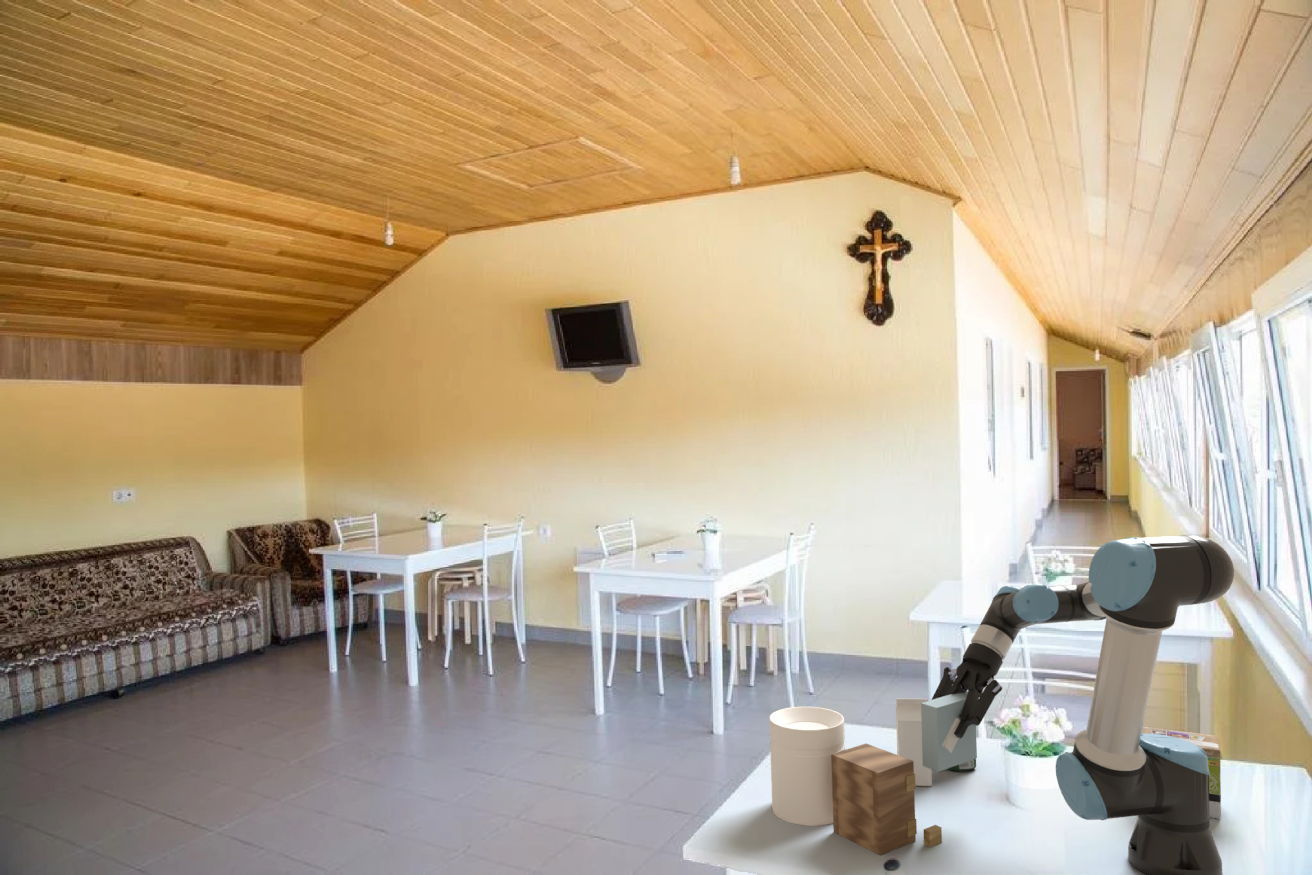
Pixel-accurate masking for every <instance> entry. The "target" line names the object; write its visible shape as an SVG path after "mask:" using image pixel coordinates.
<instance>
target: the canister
mask: <svg viewBox="0 0 1312 875" xmlns="http://www.w3.org/2000/svg"><path fill="white" fill-rule="evenodd" d="M845 729H846V728H845V718H844V716H843V715H842V714H841V713H840V712H838V711H835V710H833V709H830V708H825V707H818V706H793V707H791V706H790V707H785V708H781V709H778V710H775V711H773V712H772V713H771V714H770V715H769V736H770V741H769V742H770V773H771V774H770V775H771V776H770V777H771V778H770V779H771V807H772V808H771V809H772V813H773V814H774V815H775V816H776V817H777V818H779V819H780V820H782V821H784V822H787V823H790V824H792V825H793V824H794V825H800V826H806V827H807V826H809V827H810V826H812V827H813V826H815V827H816V826H818V827H819V826H826V825H833V796H832V763H831V754H833V753H837V752H840V751H843V750H846V744H845V740H846V739H845V737H846V734H845V732H846V731H845Z"/></svg>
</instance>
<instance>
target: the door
mask: <svg viewBox="0 0 1312 875" xmlns="http://www.w3.org/2000/svg"><path fill="white" fill-rule="evenodd" d="M966 697H967V694H966V693H962V692H961V693H956V694H950V695H947V696H943V697H940V698H937V699H933V700H931V699H930V700H928V701H926V702H923V703H921V719H922V756H923V766H924V767H927V768H930V769H931V771H932V770H933V771H935V772H938V773H939V772H941V771H944V770H949V769H948V768H951V767H953V766H956V765H959V764H962V763H964V762H967V761H970V760H973V759H975V758H976V759H977V758H978V754H977V753H978V752H977V751H978V750H977V748H978V747H977V726H976V725H975V724H973V725H970V726H968V728H967V730H966V732H965V734H964V736H963V737H962V738H959V739H958V741H957V743H956V745H955V747H954V749H953V751H952V753H949V752H948V751H947V750H946V749H945V748H944V747H943V746H942V744H943V742H944V740H945V738H946V736H947V734H948V732H949V730H950V728H951V726H952V725H953V723H954V721H955V719H956V718H959V719H960V720H961V718H960V717H959V715H961V714H962V710H963V707H964V704H965V701H966Z"/></svg>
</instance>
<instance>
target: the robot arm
mask: <svg viewBox="0 0 1312 875" xmlns="http://www.w3.org/2000/svg"><path fill="white" fill-rule="evenodd" d="M1234 577H1235V568H1234V564H1233V561H1232V558H1231V557H1230V555H1229V554H1228V552H1227V551H1226V550H1225V549H1224V548H1223V547H1222V546H1221V545H1219V543H1217V542H1215V541H1213V540H1212V539H1209V538H1206V537H1204V536H1201V535H1193V534H1182V535H1171V536H1152V537H1151V536H1150V537H1137V536H1135V537H1134V536H1131V537H1125V538H1121V539H1115V540H1110V541H1108V542H1106V543H1104V544H1102V545H1101V546H1100V547H1099V548H1097V550H1096V552H1095V553H1094V555H1093V556H1092V559H1091V561H1090V565H1089V567H1088V581H1087V582H1083V583H1078V584H1069V585H1068V584H1067V585H1051V586H1050V585H1048V586H1047V585H1046V584H1044V583H1043V584H1042V583H1033V584H1027V585H1025V586H1023V587H1020V588H1018V587H1016V586H1012V585H1011V586H1008V585H1004V586H1002V587H1000V589H999V590H998V591H997V593H996V594H995V595H994V596H993V598H992V600H991V603H990V605H989V607H988V609H987V611H986V613H985V615H984V617H983V618H982V620H981V623H980V624H979V626H978V628H977V629H976V631H975V633H974V635H973V637H972V638H971V640H970V643H969V644H968V646H967V647H966V649H965V652H964V654H963V655H962V661H961V663H960V664H959V665H958V666H957V667H956V668H952V669H951V668H950V667H947V666H946V667H945V668H944V669H943V675H942V678H941V679H940V682H939V684H938V686H937V688H936V690H935V692H934V693H933V696H932V698H931V699H930V700H933V699H937V698H940V697H943V696H947V695H950V694H956V693H961V692H962V693H966V691H967V692H968V694H967V697H966V701H965V704H964V707H963V710H962V714H961V715H959V717H960V718H961V720H960V719H959V718H956V719H955V721H954V723H953V725H952V726H951V728H950V730H949V732H948V734H947V736H946V738H945V740H944V742H943V744H942V746H943V747H944V748H945V749H946V750H947V751H948V752H949V753H952V751H953V749H954V747H955V745H956V743H957V741H958V739H959V738H962V737H963V736H964V734H965V732H966V730H967V728H968V726H970V725H973V724H975V725H976V727H977V726H978V727H979V726H980V724H981V723H982V721H983V719H984V717H985V715H986V714H987V712H988V710H989V709H990V706H991V705H992V703H993V701H994V700H995V698H996V697H997V695H998V694H999V693H1000V692H1002V690H1003V687H1002V685H1001V684H1000V683H999V682H998V681H997V680H996V679H995V677H996V676H997V675H998V672H999V671H1000V669H1001V667H1002V665H1003V662H1004V661H1003V660H1005V658H1006V657H1007V655H1008V653H1009V652H1010V649H1011V647H1012V645H1013V644H1014V642H1015V640H1016V639H1017V636H1018V635H1019V633H1020V631H1021V630H1022V629H1024V628H1028V627H1030V626H1034V625H1041V624H1045V625H1046V624H1056V623H1068V622H1083V621H1085V622H1086V621H1103V620H1105V626H1104V632H1103V637H1102V642H1101V648H1100V652H1099V659H1098V664H1097V670H1096V675H1095V680H1094V686H1093V691H1092V697H1091V701H1090V702H1091V703H1090V709H1089V713H1088V719H1087V724H1086V729H1085V730H1082V731H1080V732H1078V733H1077V734H1076V736H1075V739H1074V744H1073V749H1072V751H1071V752H1069V751H1065V752H1063V753H1061V754H1059V755H1058V757H1057V759H1056V761H1055V777H1056V780H1057V785H1058V788H1059V790H1060V792H1061V795H1062V797H1063V799H1064V801H1065V803H1066V804H1067V806H1068V807H1069V809H1070V810H1071V811H1072V812H1073V813H1074V814H1075V815H1076V816H1077V817H1080V819H1081V818H1082V819H1083V820H1086V821H1096V820H1099V821H1105V820H1109V819H1110V820H1112V819H1121V818H1129V817H1137V819H1136V823H1135V825H1134V828H1133V831H1132V833H1131V837H1130V839H1129V841H1128V844H1127V845H1128V846H1127V857H1128V861H1129V862H1130V863H1131V865H1132V866H1133V867H1134V868H1136V869H1137V870H1138V871H1140V872H1141V873H1144V874H1146V875H1223V861H1222V858H1221V856H1220V853H1219V850H1218V846H1217V845H1216V841H1215V839H1214V836H1213V834H1212V831H1211V824H1210V821H1211V820H1210V819H1211V818H1210V812H1209V775H1210V772H1209V768H1208V758H1207V755H1206V753H1205V751H1204V750H1203V749H1202V748H1200V747H1199V746H1197V745H1195V744H1193V743H1191V742H1188V741H1185V740H1182V739H1179V738H1175V737H1171V736H1166V735H1160V734H1148V733H1146V734H1141V733H1142V728H1143V726H1144V721H1145V718H1146V713H1147V708H1148V703H1149V698H1150V694H1151V687H1152V683H1153V677H1154V673H1155V669H1156V668H1155V667H1156V664H1157V663H1156V662H1157V658H1158V653H1159V648H1160V644H1161V639H1162V634H1163V631H1166V630H1169V629H1170V628H1172V627H1173V626H1174V625H1175V623H1176V622H1175V621H1176V617H1177V612H1178V608H1179V607H1181V606H1191V605H1193V606H1195V605H1200V604H1201V605H1202V604H1206V603H1210V602H1213V601H1216V600H1218V599H1220V598H1222V596H1224V595H1225V594H1226V593H1227V592H1228V590H1229V589H1230V588H1231V586H1232V584H1233V582H1234Z"/></svg>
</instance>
